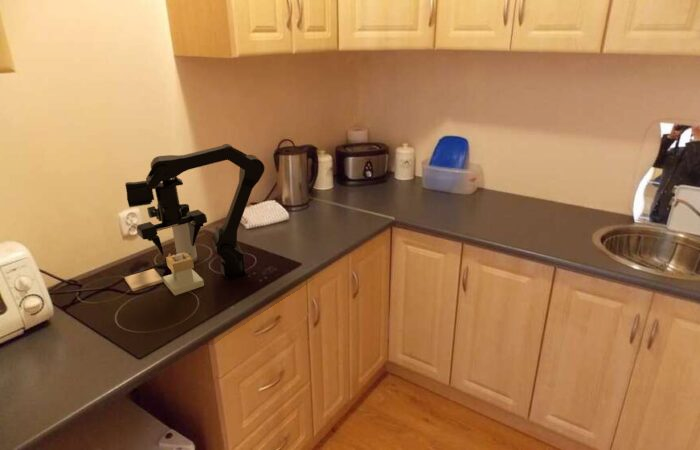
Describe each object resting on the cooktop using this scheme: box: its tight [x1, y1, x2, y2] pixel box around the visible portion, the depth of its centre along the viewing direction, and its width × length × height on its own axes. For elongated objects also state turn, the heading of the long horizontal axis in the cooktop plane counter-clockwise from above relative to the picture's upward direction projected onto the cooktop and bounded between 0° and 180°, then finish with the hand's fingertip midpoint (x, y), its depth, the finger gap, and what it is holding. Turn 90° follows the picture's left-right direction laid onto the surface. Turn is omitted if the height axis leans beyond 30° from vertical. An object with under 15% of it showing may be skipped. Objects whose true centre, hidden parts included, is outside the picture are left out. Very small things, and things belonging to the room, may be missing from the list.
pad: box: [123, 268, 164, 292], centre depth 145 cm, size 9×9×1 cm
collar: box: [165, 252, 195, 274], centre depth 140 cm, size 6×6×3 cm
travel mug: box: [171, 203, 198, 263], centre depth 154 cm, size 6×7×20 cm
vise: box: [162, 253, 205, 296], centre depth 141 cm, size 9×10×10 cm
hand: (177, 250), depth 138 cm, fingers open, 9 cm apart
